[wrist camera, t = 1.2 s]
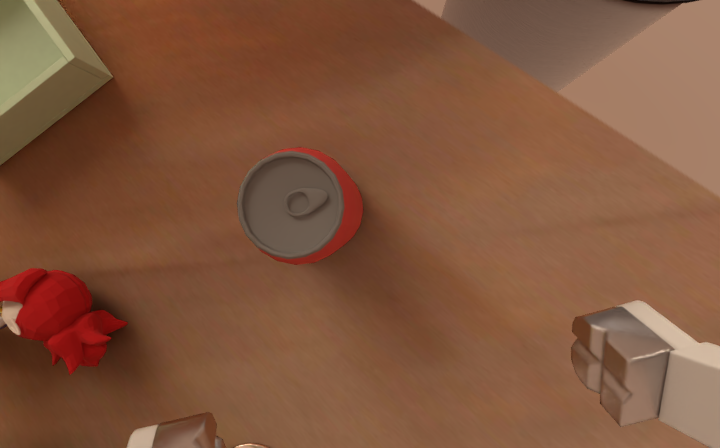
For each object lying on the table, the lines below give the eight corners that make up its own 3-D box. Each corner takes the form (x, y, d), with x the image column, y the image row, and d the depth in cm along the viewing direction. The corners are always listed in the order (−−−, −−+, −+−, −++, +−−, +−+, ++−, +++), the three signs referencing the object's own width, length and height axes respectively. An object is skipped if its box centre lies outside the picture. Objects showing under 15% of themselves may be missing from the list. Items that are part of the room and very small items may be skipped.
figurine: (-69, 284, 37) (114, 240, 36) (-25, 378, 39) (150, 337, 38) (-155, 318, 31) (64, 266, 30) (-97, 428, 32) (110, 381, 32)
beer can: (373, 238, 36) (369, 249, 24) (291, 261, 36) (246, 283, 24) (350, 155, 36) (334, 125, 24) (268, 179, 36) (211, 160, 24)
